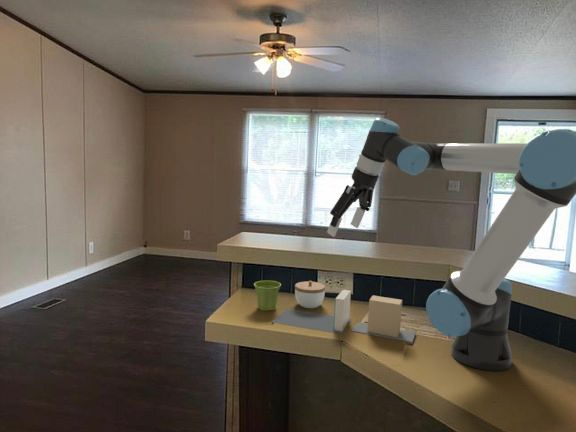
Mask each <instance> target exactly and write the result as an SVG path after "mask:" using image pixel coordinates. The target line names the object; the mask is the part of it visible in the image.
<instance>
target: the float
mask: <svg viewBox="0 0 576 432" xmlns="http://www.w3.org/2000/svg"><path fill="white" fill-rule="evenodd" d="M402 310H403V299H399V298H393V297H386V296H385V297H384V296H379V295H374V294H373V295H372V296H371V297H370V298H369V300H368V315H367V317H368V318H367V323H366V322H365V323H364V322H357V323H356V324H355V325H354V326H353V328H352V329H351V332H354V333H358V334H364V335H370V336H375V337H381V338H386V339H392V340H396V341H401V342H402V341H403V342H405V344H407V345H413V343H414V340H415V337H416V335H417V334H416V332H415V331H410V330H403V329H401V324H402V323H401V322H402Z"/></svg>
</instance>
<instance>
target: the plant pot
mask: <svg viewBox="0 0 576 432" xmlns="http://www.w3.org/2000/svg"><path fill="white" fill-rule="evenodd" d="M253 286H254V288H255V291H256V299H257V308H258V309H259V310H260V311H263V312H264V311H265V312H269V311H274V310H276V308H277V303H278V302H277V301H278V295H279V291H280V289H281V286H282V283H281V282H278V281H276V280H259V281H255V282H254V283H253Z"/></svg>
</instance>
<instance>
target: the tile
mask: <svg viewBox="0 0 576 432" xmlns="http://www.w3.org/2000/svg"><path fill="white" fill-rule="evenodd" d="M351 292H352V291H351V290H349V289H342V290H341V291H340V292H339V294H338V295H337V296H336V297H335V298H334V313H333V316H334V330H336V331H343V330H344V328H345V326H346V325H347V323H348V322H349V318H350V315H351V314H350V312H351V296H352V295H351Z"/></svg>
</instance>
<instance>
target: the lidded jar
mask: <svg viewBox="0 0 576 432" xmlns="http://www.w3.org/2000/svg"><path fill="white" fill-rule="evenodd" d="M325 294H326V284H323V283H321V282H316V281H312V280H308V281H299V282H297V283H295V285H294V296H295V300H296V302H297V303H298V305H299V306H300V307H302V308H305V309H316V308H318V307H320V306H321V305H322V303H323V301H324V299H325Z"/></svg>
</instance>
